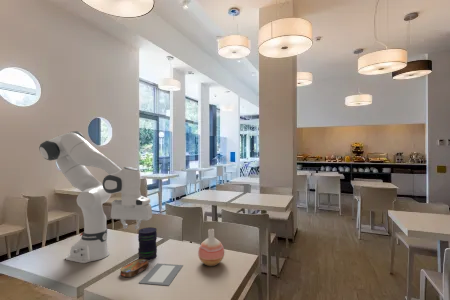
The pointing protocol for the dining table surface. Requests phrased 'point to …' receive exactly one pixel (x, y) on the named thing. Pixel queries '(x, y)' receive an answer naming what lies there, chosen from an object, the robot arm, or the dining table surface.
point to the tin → (134, 267)
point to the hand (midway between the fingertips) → (131, 228)
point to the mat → (161, 274)
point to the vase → (211, 250)
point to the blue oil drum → (147, 243)
